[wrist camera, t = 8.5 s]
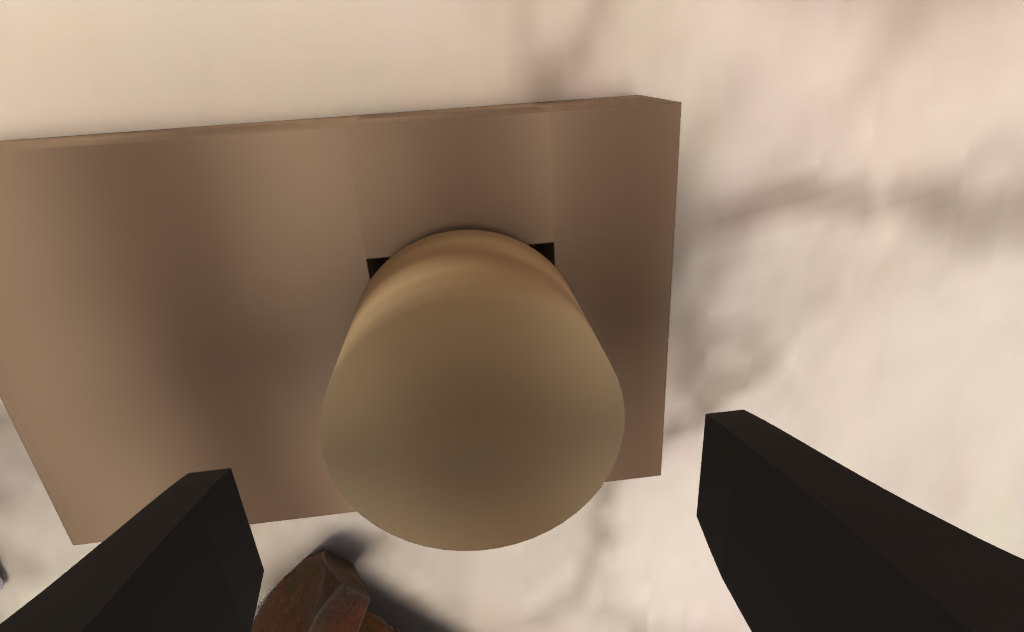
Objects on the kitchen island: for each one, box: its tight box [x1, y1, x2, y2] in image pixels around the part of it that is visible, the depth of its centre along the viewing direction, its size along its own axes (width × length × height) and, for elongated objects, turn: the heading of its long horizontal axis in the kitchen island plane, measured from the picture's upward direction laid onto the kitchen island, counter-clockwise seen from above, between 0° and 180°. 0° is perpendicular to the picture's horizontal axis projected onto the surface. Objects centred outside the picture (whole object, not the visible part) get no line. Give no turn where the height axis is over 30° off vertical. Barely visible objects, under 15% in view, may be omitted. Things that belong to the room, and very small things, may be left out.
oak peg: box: [320, 230, 625, 551], centre depth 13 cm, size 5×5×8 cm
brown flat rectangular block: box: [0, 95, 681, 545], centre depth 15 cm, size 16×10×3 cm, turn 94°
